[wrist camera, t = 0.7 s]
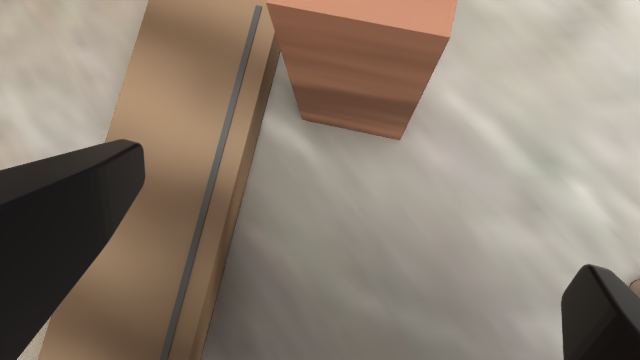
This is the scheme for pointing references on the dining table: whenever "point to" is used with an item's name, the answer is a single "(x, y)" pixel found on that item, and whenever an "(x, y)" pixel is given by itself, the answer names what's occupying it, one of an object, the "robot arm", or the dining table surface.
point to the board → (175, 183)
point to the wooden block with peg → (361, 58)
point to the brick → (636, 287)
